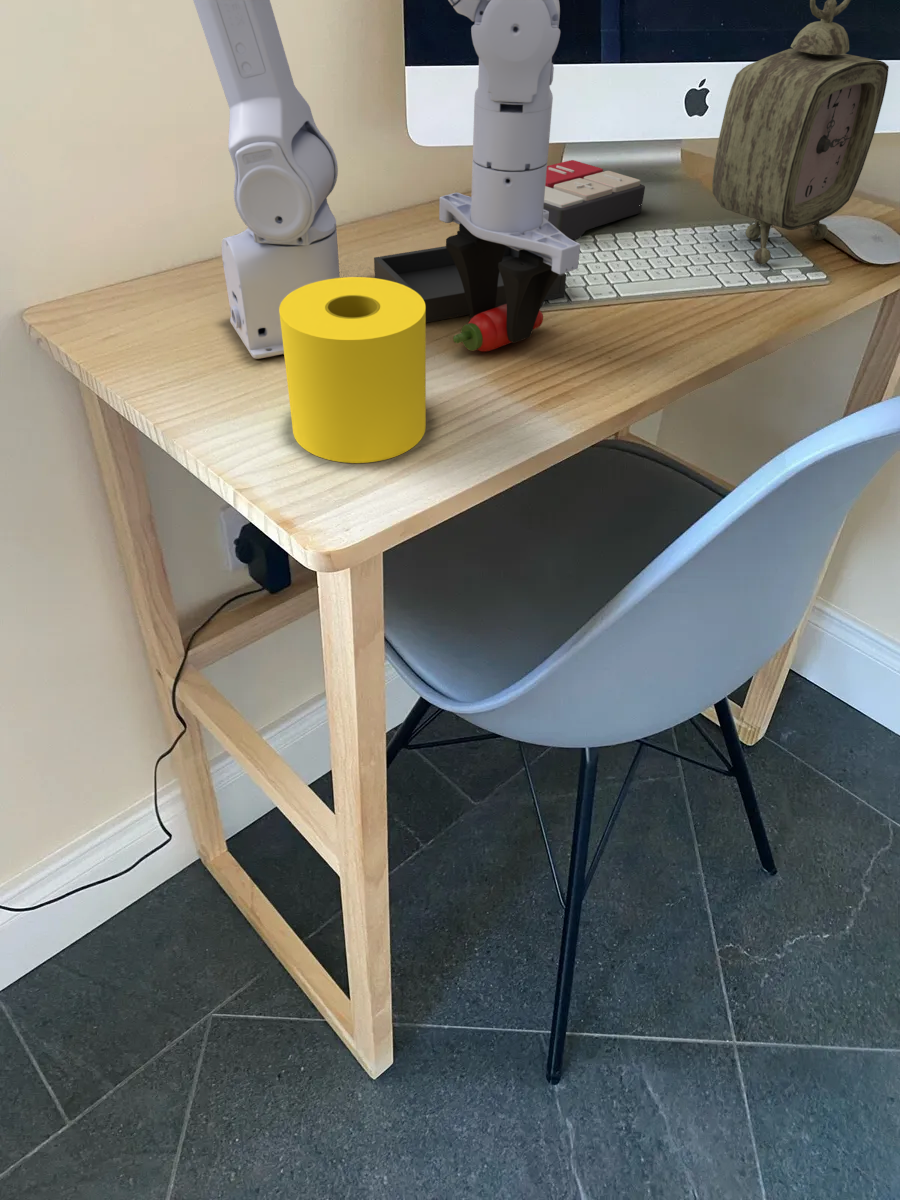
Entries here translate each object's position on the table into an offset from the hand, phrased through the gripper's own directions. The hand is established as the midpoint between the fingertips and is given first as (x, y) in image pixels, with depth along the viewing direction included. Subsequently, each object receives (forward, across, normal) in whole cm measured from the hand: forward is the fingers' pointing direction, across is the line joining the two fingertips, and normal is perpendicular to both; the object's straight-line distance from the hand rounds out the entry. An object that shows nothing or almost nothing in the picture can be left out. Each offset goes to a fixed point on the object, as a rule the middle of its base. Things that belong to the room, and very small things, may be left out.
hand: (500, 328), depth 78 cm
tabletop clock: (+2, -1, -38) cm, 38 cm away
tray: (+1, +10, -5) cm, 12 cm away
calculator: (+2, +19, -27) cm, 33 cm away
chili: (+1, 0, 0) cm, 1 cm away
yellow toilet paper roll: (+2, -4, +18) cm, 18 cm away
